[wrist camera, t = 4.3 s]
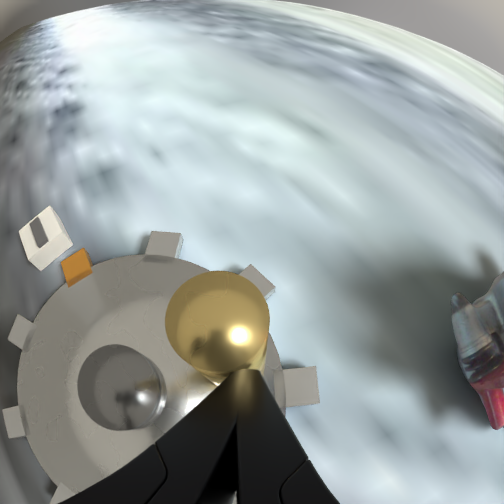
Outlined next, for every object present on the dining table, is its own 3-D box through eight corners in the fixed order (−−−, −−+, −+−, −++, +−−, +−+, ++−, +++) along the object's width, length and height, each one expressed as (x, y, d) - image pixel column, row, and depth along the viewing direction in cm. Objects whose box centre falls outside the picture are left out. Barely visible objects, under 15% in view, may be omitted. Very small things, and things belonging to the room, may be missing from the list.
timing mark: (73, 244, 19) (60, 229, 17) (40, 271, 18) (25, 257, 16) (60, 218, 20) (47, 202, 18) (30, 243, 19) (16, 228, 17)
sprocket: (370, 480, 12) (472, 522, 4) (65, 558, 8) (-30, 596, 1) (227, 198, 20) (212, 76, 12) (-4, 296, 17) (-87, 229, 9)
